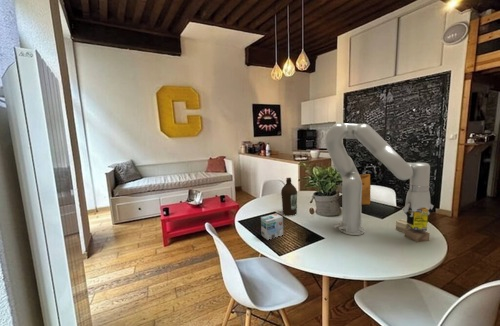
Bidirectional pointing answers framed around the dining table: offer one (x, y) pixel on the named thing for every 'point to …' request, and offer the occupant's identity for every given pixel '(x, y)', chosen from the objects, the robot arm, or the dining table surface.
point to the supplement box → (420, 220)
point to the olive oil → (289, 198)
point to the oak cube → (402, 225)
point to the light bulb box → (272, 226)
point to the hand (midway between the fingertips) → (417, 222)
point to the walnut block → (417, 235)
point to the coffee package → (365, 189)
